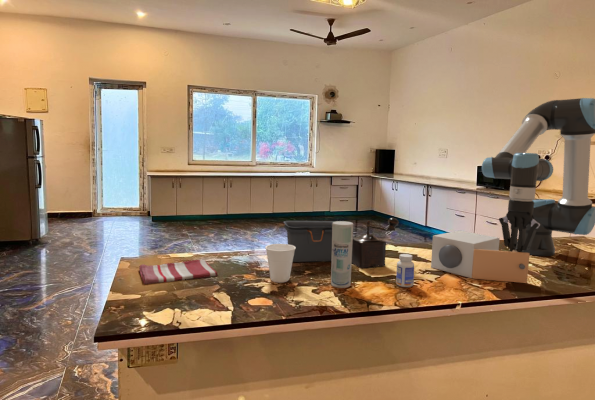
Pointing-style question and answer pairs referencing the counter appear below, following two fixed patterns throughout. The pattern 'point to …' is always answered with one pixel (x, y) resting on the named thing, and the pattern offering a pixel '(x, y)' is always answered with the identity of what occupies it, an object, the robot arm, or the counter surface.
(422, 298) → the counter surface
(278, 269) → the cup
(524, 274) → the side door
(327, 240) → the storage bin
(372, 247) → the dark manual coffee grinder
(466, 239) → the block
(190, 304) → the counter surface
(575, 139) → the robot arm
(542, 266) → the counter surface
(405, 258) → the pill bottle
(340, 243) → the spray can
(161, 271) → the dish towel
